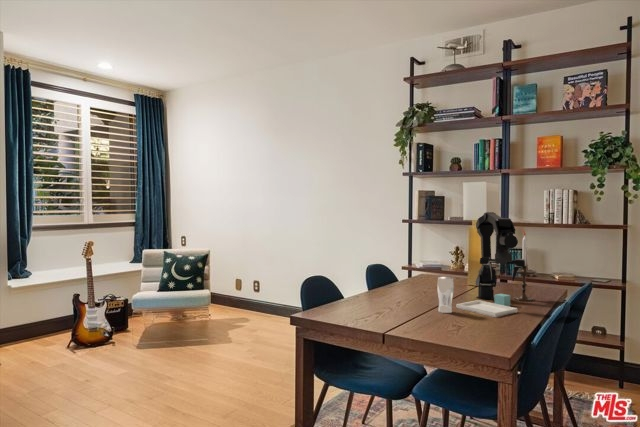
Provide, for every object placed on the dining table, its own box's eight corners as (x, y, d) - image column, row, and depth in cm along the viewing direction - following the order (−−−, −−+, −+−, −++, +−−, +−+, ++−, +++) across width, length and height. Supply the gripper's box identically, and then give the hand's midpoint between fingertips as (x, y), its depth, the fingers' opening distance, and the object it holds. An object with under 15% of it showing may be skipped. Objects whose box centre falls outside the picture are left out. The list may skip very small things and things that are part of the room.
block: (494, 305, 211) (494, 294, 211) (500, 303, 214) (500, 293, 214) (503, 307, 207) (504, 296, 207) (510, 305, 210) (510, 295, 210)
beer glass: (453, 310, 199) (454, 276, 199) (453, 314, 192) (453, 279, 192) (437, 309, 201) (438, 276, 201) (436, 312, 195) (436, 278, 194)
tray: (456, 308, 204) (456, 304, 204) (478, 303, 213) (478, 300, 213) (495, 317, 188) (495, 313, 188) (517, 312, 197) (517, 308, 197)
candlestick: (512, 300, 221) (513, 229, 220) (511, 296, 231) (512, 228, 230) (536, 302, 217) (537, 230, 216) (535, 298, 227) (536, 229, 226)
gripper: (478, 246, 199) (478, 281, 200) (524, 248, 191) (524, 285, 192) (481, 244, 209) (480, 277, 210) (525, 246, 201) (524, 281, 202)
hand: (501, 280), depth 203 cm, fingers open, 9 cm apart
